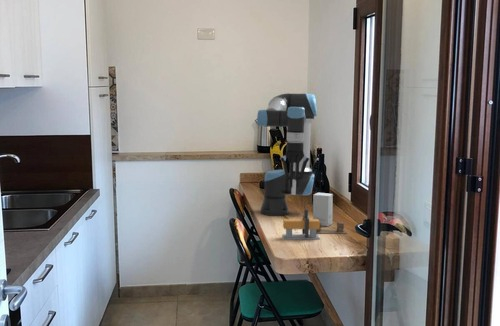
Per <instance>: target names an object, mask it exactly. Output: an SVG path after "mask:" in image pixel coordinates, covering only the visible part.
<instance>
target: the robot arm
mask: <svg viewBox="0 0 500 326" xmlns="http://www.w3.org/2000/svg"><path fill="white" fill-rule="evenodd" d="M316 100H317V99H316V96H315V94H313V93H290V92H289V93H283V94H282V93H281V94H278V95H277V96H274V97H273V98H272V99H270V100H269V102H268V106H267V108H266V109H260V110H258V111H257V118H256V119H257V120H256V121H257V125H258V126H260V127H278V128H279V127H283V128H285V127H286V141H287V142H286V152H285V153H284V155H283V156H281V157H280V158H279V160H280V161H281V163H282V168H283V169H274V170H269V171H267V172H266V173H265V174H264V180H263V182H264V192H263V200H262V203H261V206H260V213H261V214H263V215H266V216H285V215H286V216H287V215H288V214H289V206H288V203H287V199H286V195H289V196H310V195H311V194H312V192H313V187H314V181H315V174H314V173H313V169H312V168H311V167H310V165H311V164H310V159H311V137H312V136H311V132H312V122H313V121H314V120H315V117H317V116H318V112H317V111H318V109H317V101H316ZM286 160H288V162H289V172H288V167H287V163H286Z"/></svg>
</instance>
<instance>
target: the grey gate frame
mask: <svg viewBox="0 0 500 326" xmlns="http://www.w3.org/2000/svg"><path fill="white" fill-rule="evenodd" d="M308 213H309V210H308V209H307V208H304V213H303V215H302V219H304V220H305V229H301V230H302V232H301V234H305V238H308V236H309V234H310V229H309V219H310V218H309V214H308Z"/></svg>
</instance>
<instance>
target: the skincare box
mask: <svg viewBox="0 0 500 326" xmlns="http://www.w3.org/2000/svg"><path fill="white" fill-rule="evenodd" d="M333 196H334V194H333V193H325V192H316V193H314V194H313V197H312V199H313V200H312V201H313V202H312V204H313V206H312V210H313V211H312V213H313V214H312V217H313V218H312V219H318V220H319V221H320V223H321V226H322V227H331V226H332V225H333V212H334V211H333V204H334V203H333V201H334V200H333Z"/></svg>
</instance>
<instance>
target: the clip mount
mask: <svg viewBox="0 0 500 326" xmlns="http://www.w3.org/2000/svg"><path fill="white" fill-rule="evenodd" d="M282 237H283V239H284V240H287V241H288V240H320V239H321V238H320V237H319V235H318V234H316V229H309V236H308V238H305V234H302V233H300V234H293V229H285V234H282Z"/></svg>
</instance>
